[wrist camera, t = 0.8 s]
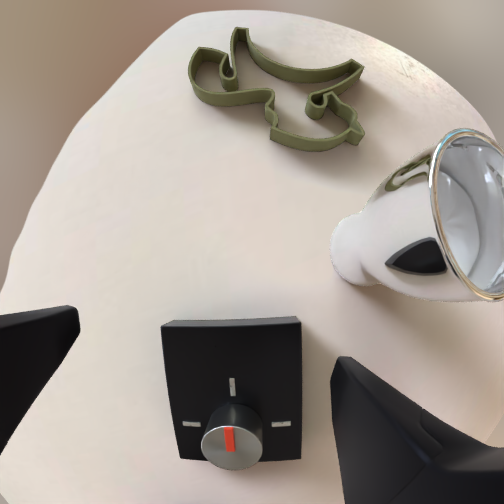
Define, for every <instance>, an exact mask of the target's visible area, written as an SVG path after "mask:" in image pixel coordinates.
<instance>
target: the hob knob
mask: <svg viewBox="0 0 504 504" xmlns="http://www.w3.org/2000/svg"><path fill="white" fill-rule="evenodd" d="M201 449H202V452H203V454H204V456H205V457H206V459H207V460H208V461H209V462H211V463H212V464H214V465H215V466H217V467H220V468H223V469H227V470H242V469H246V468H249V467H251V466H252V465H254V464H255V463H256V462H257V461H258V460H259V459H260V457H261V455H262V421H261V418H260V417H259V415H258V414H257V413H256V412H255V411H254V410H252V409H251V408H249V407H247V406H244V405H240V404H228V405H224V406H222V407H220V408H218V409H217V410H215V411H214V412H213V414H212V415H211V417H210V420H209V423H208V425H207V428H206V431H205V433H204V436H203V438H202V442H201Z"/></svg>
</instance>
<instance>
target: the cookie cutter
mask: <svg viewBox="0 0 504 504" xmlns="http://www.w3.org/2000/svg"><path fill="white" fill-rule="evenodd" d="M238 41H247V47H248V51H249V53H250V56H251V57H252V59H253V60H254V62H255V63H256V64H257V65H258V66H259V67H260V68H261V69H263V70H264V71H266V72H267V73H269V74H271V75H273V76H275V77H277V78H280V79H283V80H287V81H291V82H297V83H319V82H325V81H329V80H333V79H336V78H338V77H340V76H342V75H344V74H346V73H350V74H351V76H350V77H348V78H347V79H345V80H343V81H342V82H340V83H338V84H336V85H334V86H331V87H329V88H326V89H323V90H319V91H315V92H311V93H310V94H309V96H308V100H307V104H306V108H305V113H306V114H307V116H308V117H310V118H312V119H315V120H318V119H320V118H322V116H323V114H324V111H325V108H326V106H327V105H328V107H329V108H330V109H331V110H332V111H333V112H334V113H335V114H336V115H337V116H339V117H341V118H343V119H344V120H345V121H347V123H348V125H349V128H348V129H347V130H346V131H344V132H343V133H341V134H339V135H337V136H334V137H331V138H324V139H314V138H307V137H302V136H298V135H294V134H291V133H288V132H286V131H283V130H281V129H278V128H277V126H278V115H277V114H276V113H275V112H274V111H273V109H274V101H275V92H274V91H273V90H272V89H269V88H255V89H248V90H241V91H236V90H237V89H238V79H237V72H236V65H235V60H234V54H235V48H236V44H237V42H238ZM230 51H231V59H232V66H233V72H234V75H233V77H232V78H227V77H225V76H226V73H227V71H228V69H229V68H230V63H229V57H228V54H227V53H225V52H222V51H220V50H217V49H212V48H206V47H198V48H197V50H196V51H195V52H194V54H193V55H192V57H191V60H190V62H189V66H188V75H189V79H190V82H191V84H192V87H193V90H194V92H195V94H196V95H197V97H198V98H199V99H200V100H202V101H203V102H205V103H207V104H210V105H214V106H222V107H226V106H238V105H245V104H252V103H261V102H266V104H265V119H266V121H267V122H269V123H270V124H271V125H272V127H271V131H270V139H271V140H273V141H275V142H277V143H280V144H282V145H285V146H288V147H291V148H294V149H298V150H303V151H311V152H318V151H326V150H329V149H332V148H334V147H336V146H338V145H340V144H341V143H342V142H344V141H347V142H349V143H351V144H353V145H358V144H359V142H360V141H361V139H362V138H363V136H364V135H365V132H364V130H363V128H362V127H361V125H360V124H359V123H358V121H357V117H358V116H357V113H356V111H355V110H354V109H353V108H352V107H351V106H349V105H347V104H345V103H343V102H342V101H341V100H340V99H339V98H338V97H337V96H338V95H339V94H341V93H343V92H344V91H345V90H347V89H348V88H349V87H351V86H352V85H353V84H354V83H355V82H356V81H357V80H358V79H359V78H360V76H361V74H362V71H363V69H364V66H362V65H361V64H359V63H358V62H356V61H355V60H353V59H350V60H349V61H347V62H345V63H342V64H340V65H337V66H333V67H329V68H322V69H301V68H294V67H289V66H286V65H282V64H280V63H277V62H275V61H273V60H271V59H269V58H267V57H266V56H264V55H263V54H262V53H260V52H259V51H258V50H257V49H256V47H255V46H254V45H253V43H252V41H251V39H250V36H249V28H241V27H236V28H235V29H234V31H233V33H232V36H231V41H230ZM202 61H211V62H215V63H219V64H220V67H219V73H220V77H221V82H222V86H223V88H224V89H225V90H226V91H228V92H211V91H207V90H204V89H202V88H201V87H199V86H198V85H197V84H196V83H195V75H196V72H197V70H198V67H199V66H200V64H201V63H202ZM317 104H320V106H318V105H317Z"/></svg>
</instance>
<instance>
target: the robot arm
mask: <svg viewBox="0 0 504 504" xmlns="http://www.w3.org/2000/svg"><path fill="white" fill-rule="evenodd" d="M79 334H80V322H79V315H78V310H77V309H76V308H75V307H72V306H69V305H65V306H59V307H53V308H46V309H40V310H33V311H26V312H20V313H13V314H6V315H0V455H1V453H2V451H3V450H4V448H5V446H6V445H7V443H8V441H9V439H10V438H11V436H12V434H13V433H14V431H15V429H16V428H17V426H18V425H19V423H20V422H21V420H22V419H23V417H24V415H25V414H26V412H27V411H28V409H29V408H30V406H31V405H32V404H33V402H34V401H35V399H36V398H37V396H38V395H39V393H40V392H41V391H42V389H43V388H44V386H45V385H46V384H47V382H48V381H49V379H50V378H51V377H52V375H53V374H54V373H55V371H56V370H57V369H58V367H59V366H60V364H61V363H62V361H63V360H64V358H65V357H66V355H67V353H68V352H69V350H70V348H71V347H72V345H73V344H74V342H75V340H76V339H77V337H78V336H79ZM330 388H331V406H332V422H333V429H334V435H335V441H336V447H337V453H338V459H339V465H340V472H341V479H342V485H343V493H344V500H345V504H504V448H497V447H491V446H488V445H486V444H483V443H481V442H480V441H478V440H476V439H474V438H472V437H470V436H468V435H466V434H464V433H463V432H461V431H459V430H457V429H455V428H453V427H452V426H450V425H448V424H446V423H445V422H443V421H442V420H440V419H438V418H437V417H435V416H434V415H432V414H431V413H429V412H428V411H426V410H425V409H422V407H421V406H419V405H418V404H416V403H415V402H413V401H412V400H411V399H409V398H408V397H406V396H405V395H403V394H402V393H401V392H399V391H398V390H396V389H395V388H393V387H392V386H391V385H389V384H388V383H386V382H385V381H384V380H382V379H381V378H379V377H378V376H377V375H375V374H374V373H372V372H371V371H370V370H368V369H367V368H366V367H364V366H363V365H361V364H360V363H359V362H357V361H356V360H355V359H353V358H352V357H346V356H340V357H338V358H337V360H336V363H335V366H334V369H333V372H332V375H331V380H330Z"/></svg>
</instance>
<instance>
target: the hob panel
mask: <svg viewBox="0 0 504 504" xmlns="http://www.w3.org/2000/svg"><path fill="white" fill-rule="evenodd" d="M161 337H162V347H163V356H164V365H165V373H166V381H167V388H168V395H169V401H170V407H171V413H172V419H173V425H174V430H175V435H176V440H177V445H178V450H179V455H180V458H181V459H190V460H202V461H208V460H207V459H206V457H205V456H204V454H203V452H202V449H201V442H202V438H203V436H204V433H205V431H206V428H207V425H208V423H209V420H210V417H211V415H212V414H213V412H214V411H215V410H217V409H218V408H220V407H222V406H224V405H228V404H240V405H244V406H247V407H249V408H251V409H252V410H254V411H255V412H256V413H257V414H258V415H259V417H260V418H261V421H262V455H261V457H260V459H259V460H258V461H257V462H267V461H284V460H296V459H301V447H302V333H301V322H300V321H299V320H298V318H297V317H296V316H292V317H276V318H257V319H232V320H173V321H171V322H169V323H166V324H164V325H162V326H161Z"/></svg>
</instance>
